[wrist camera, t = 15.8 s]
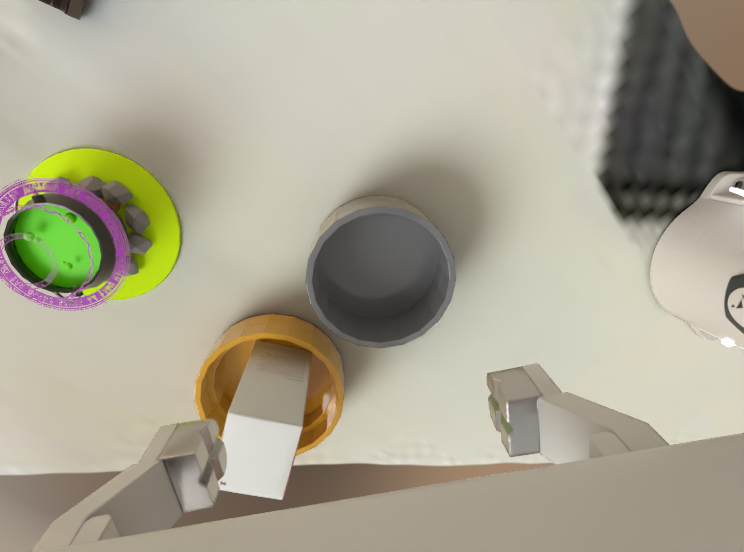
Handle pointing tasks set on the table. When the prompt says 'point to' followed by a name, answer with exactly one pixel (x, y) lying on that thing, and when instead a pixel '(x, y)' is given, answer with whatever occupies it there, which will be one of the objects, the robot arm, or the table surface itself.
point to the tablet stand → (68, 6)
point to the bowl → (232, 357)
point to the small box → (266, 421)
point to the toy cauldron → (89, 229)
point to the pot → (379, 272)
